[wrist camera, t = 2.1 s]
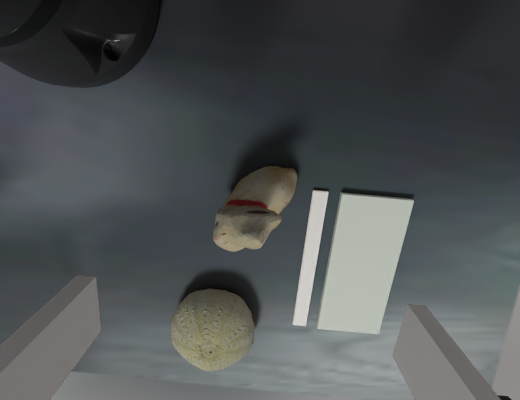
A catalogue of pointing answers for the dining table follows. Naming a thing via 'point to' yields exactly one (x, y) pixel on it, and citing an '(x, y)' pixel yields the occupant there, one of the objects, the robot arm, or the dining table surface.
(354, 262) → the mat
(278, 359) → the dining table surface
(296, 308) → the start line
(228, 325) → the sea urchin shell
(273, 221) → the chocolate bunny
